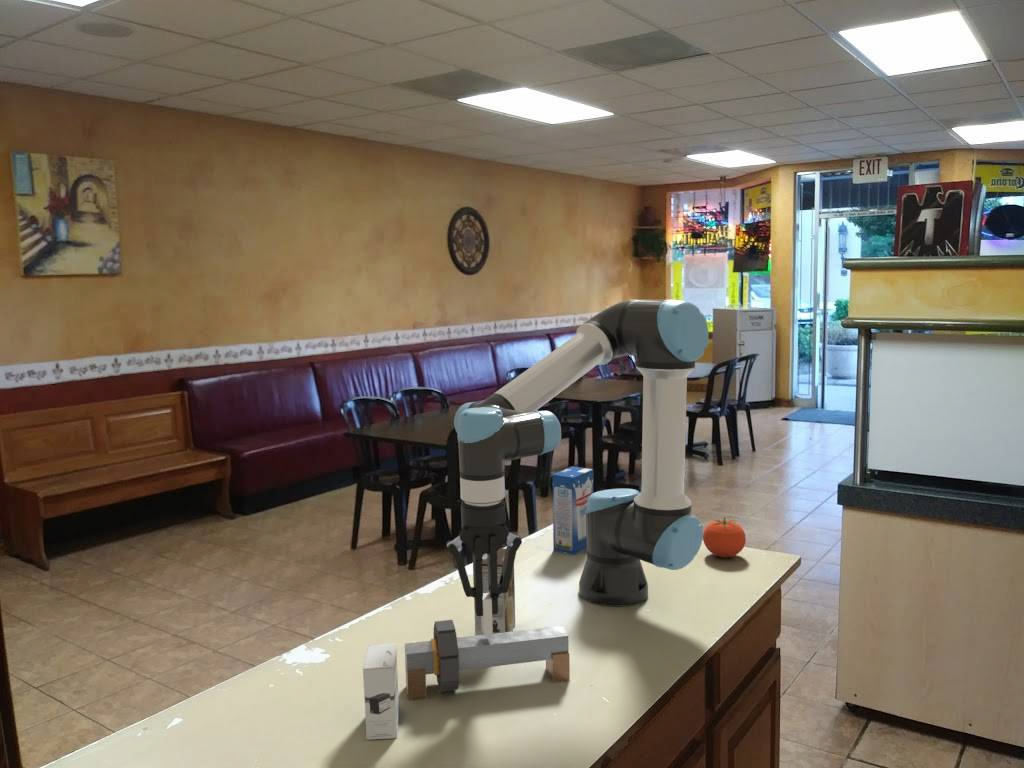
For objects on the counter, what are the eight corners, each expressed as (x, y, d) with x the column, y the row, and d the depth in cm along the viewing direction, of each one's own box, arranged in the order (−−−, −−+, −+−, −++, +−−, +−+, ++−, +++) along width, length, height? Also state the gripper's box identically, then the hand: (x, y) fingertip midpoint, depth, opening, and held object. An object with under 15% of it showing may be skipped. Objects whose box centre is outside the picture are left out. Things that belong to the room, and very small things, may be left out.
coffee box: (485, 621, 164) (483, 546, 162) (516, 624, 163) (514, 548, 161) (474, 642, 155) (472, 562, 153) (506, 644, 154) (505, 564, 152)
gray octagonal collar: (451, 668, 144) (449, 611, 142) (460, 699, 133) (458, 638, 132) (434, 670, 143) (432, 613, 142) (442, 702, 133) (440, 640, 131)
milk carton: (573, 539, 214) (572, 466, 211) (593, 543, 210) (593, 469, 207) (553, 550, 205) (552, 474, 203) (574, 555, 202) (573, 477, 199)
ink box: (369, 711, 132) (366, 643, 130) (400, 709, 132) (397, 641, 130) (364, 741, 123) (361, 669, 121) (397, 739, 123) (394, 667, 122)
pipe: (561, 666, 145) (561, 623, 144) (569, 680, 140) (569, 635, 139) (406, 685, 139) (404, 641, 138) (408, 700, 134) (406, 654, 133)
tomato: (695, 551, 203) (696, 513, 201) (732, 547, 205) (732, 509, 204) (715, 565, 193) (715, 525, 192) (753, 561, 195) (754, 521, 194)
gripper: (515, 490, 140) (519, 618, 144) (441, 497, 138) (446, 627, 141) (525, 502, 133) (528, 637, 136) (447, 509, 130) (452, 646, 134)
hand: (487, 632), depth 139 cm, fingers closed
